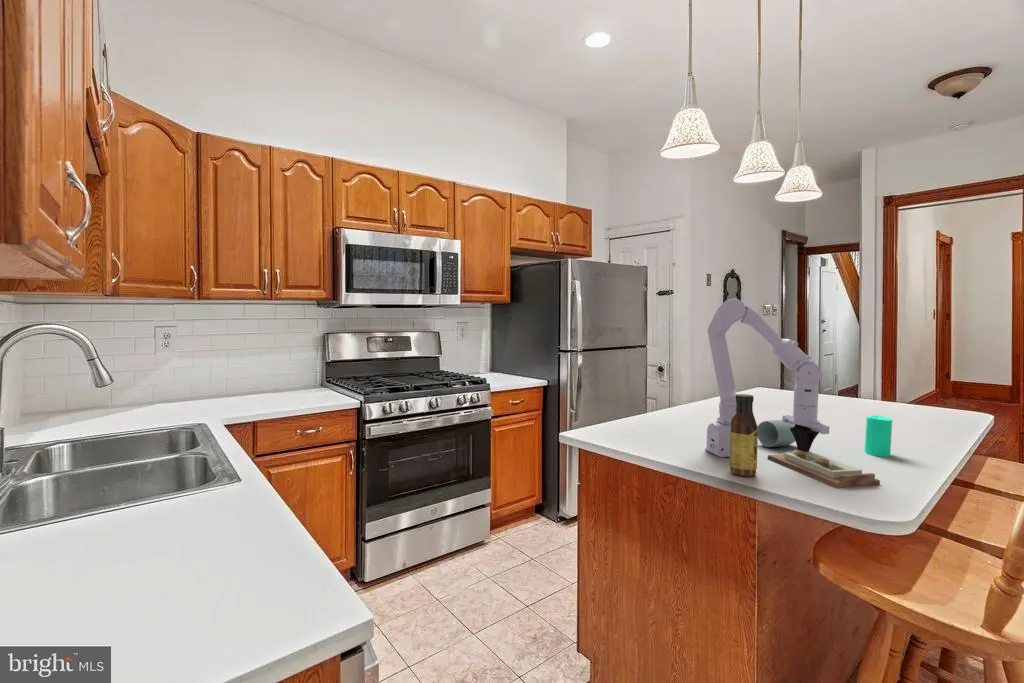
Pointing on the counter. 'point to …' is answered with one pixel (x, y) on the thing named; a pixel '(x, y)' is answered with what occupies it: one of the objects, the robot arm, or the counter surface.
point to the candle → (878, 435)
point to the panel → (831, 470)
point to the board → (835, 482)
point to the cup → (775, 433)
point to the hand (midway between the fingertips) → (803, 453)
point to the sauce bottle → (743, 438)
